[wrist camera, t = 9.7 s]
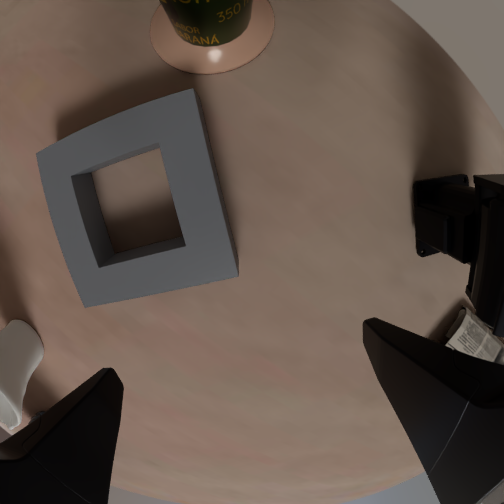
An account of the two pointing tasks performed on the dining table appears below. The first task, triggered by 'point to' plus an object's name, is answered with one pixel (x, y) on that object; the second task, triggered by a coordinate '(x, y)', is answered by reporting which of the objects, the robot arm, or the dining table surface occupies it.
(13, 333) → the cup
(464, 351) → the newspaper
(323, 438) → the dining table surface
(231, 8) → the beer can
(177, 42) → the coaster
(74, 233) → the square frame
